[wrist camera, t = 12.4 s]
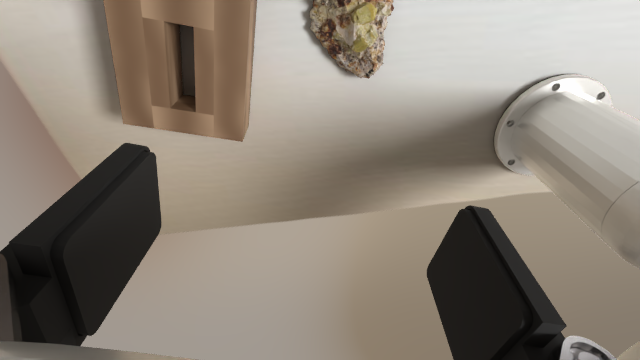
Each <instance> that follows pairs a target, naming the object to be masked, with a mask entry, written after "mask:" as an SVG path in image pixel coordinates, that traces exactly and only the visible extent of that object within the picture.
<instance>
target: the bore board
mask: <svg viewBox="0 0 640 360" xmlns="http://www.w3.org/2000/svg"><path fill="white" fill-rule="evenodd" d="M103 2H104V8H105V14H106V20H107V26H108V32H109V38H110V45H111V51H112V57H113V63H114V69H115V75H116V82H117V88H118V94H119V100H120V106H121V112H122V118H123V124H129V125H135V126H142V127H149V128H155V129H162V130H169V131H175V132H182V133H188V134H195V135H202V136H208V137H215V138H222V139H228V140H235V141H241V142H242V141H243V139H244V136H245V134H246V131H247V128H248V125H249V110H250V96H251V81H252V66H253V52H254V37H255V22H256V8H257V0H103ZM180 24H181V25H186V26H192V27H193V29H194V64H195V97H194V96H188V95H183V82H182V62H181V42H180Z"/></svg>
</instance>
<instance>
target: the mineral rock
mask: <svg viewBox="0 0 640 360" xmlns="http://www.w3.org/2000/svg"><path fill="white" fill-rule="evenodd" d="M392 3H393V0H313V7H312V9H311V11H310V18H311V26H310V30H311V31H313V32H314V34H315V35H316V37H317V39H319V40H320V42H321V44H322V46H323V47H325V49H327V50H328V54H330V55H331V57H332V58H333V59H336V60H337V64H338V66H340V67H341V68H344V69H345V70H346V71H350V72H352V73H354V74H355V75H357V76H358V77H359V78H362V77H363V78H370V76H371V75H373V74H374V73H375V72H376V71H377V70H378V69H379V67H380V66H381V65H382V64H383V63H382V61H383V53H382V52H383V50H384V46H385V42H384V40H383V39H384V37H383V34H384V30H385V29H386V26H387V23H388V22H387V16H390V15H391V12H392V11H393V9H394V7H393V5H392Z"/></svg>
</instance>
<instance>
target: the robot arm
mask: <svg viewBox="0 0 640 360" xmlns="http://www.w3.org/2000/svg"><path fill="white" fill-rule="evenodd" d="M494 147H495V151H496V154H497V156H498V158H499V159H500V161H501V162H502V163H503V164H504V165H505V166H506V167H507V168H508V169H510V170H511V171H513V172H515V173H518V174H521V175H528V176H536V177H537V178H538V179H539V180H540V181H541V182H542V183H543V184H544V185H545V186H546V187H547V188H548V189H549V190H550V191H552V192H553V193H554V194H555V195H556V196H557V197H558V198H559V199H560V200H561V201H562V202H563V203H564V204H565V205H566V206H567V207H568V208H569V209H570V210H571V211H572V212H573V213H574V214H575V215H576V216H578V217H579V218H580V219H581V220H582V221H583V222H584V223H585V224H586V225H587V226H588V227H589V228H590V229H591V230H592V231H593V232H594V233H595V234H596V235H597V236H598V237H599V238H600V239H602V240H603V241H604V242H605V243H606V244H607V245H608V246H609V247H610V248H611V249H612V250H613V251H614V252H615V253H616V254H618V255H619V256H620V257H621V258H622V259H624V260H625V261H627V262H628V263H630V264H631V265H633V266H635V267H637V268H639V269H640V120H639V119H637V118H634V117H632V116H630V115H628V114H626V113H624V112H622V111H620V110H618V109H616V108H614V107H613V106H612V98H611V96H610V93H609V91H608V90H607V89H606V87H605V86H604V85H603V84H601V83H600V82H598V81H597V80H595V79H592V78H590V77H587V76H583V75H578V74H565V75H560V76H555V77H552V78H549V79H547V80H544V81H541V82H540V83H538V84H536V85H534V86H532V87H531V88H529V89H528V90H526V91H525V92H524V93H522V94H521V95H520V96H519V97H518V98H517V99H516V100H514V101H513V102H512V103H511V105H510V106H509V107H508V108H507V110H506V111H505V112H504V114H503V116H502V117H501V119H500V121H499V123H498V126H497V128H496V131H495V137H494ZM160 229H161V212H160V200H159V189H158V177H157V165H156V156H155V154H154V153H152V152H150V150H149V148H148V147H147V146H141V145H136V144H130V143H124V144H123V145H121V146H120V147H119V148H118V149H117V150H116V151H114V152H113V153H112V154H111V155H110V156H109V157H107V158H106V159H105V160H104V161H103V162H102V163H100V164H99V165H98V166H97V167H96V168H95V169H93V170H92V171H91V172H90V173H89V174H88V175H86V176H85V177H84V178H83V179H82V180H81V181H80V182H79V183H77V184H76V185H75V186H74V187H73V188H71V189H70V190H69V191H68V192H67V193H66V194H64V195H63V196H62V197H61V198H60V199H59V200H57V202H55V203H54V204H53V205H52V206H50V207H49V208H48V209H47V210H46V211H45V212H44V213H42V214H41V215H40V216H39V217H38V218H37V219H35V220H34V221H33V222H32V223H31V224H30V225H28V227H26V228H25V229H24V230H23V231H21V232H20V233H19V234H18V235H17V236H16V237H15V238H13V239H12V240H11V241H10V242H9V244H8V245H7V246H6V247H5V248H4V249H3V250H1V251H0V360H196V359H188V358H180V357H172V356H163V355H155V354H147V353H138V352H129V351H119V350H110V349H100V348H91V347H81V344H82V342H83V341H84V340H85V338H86V336H87V335H89V336H91V335H93V334H94V333H96V331H97V330H98V328H99V327H100V325H101V324H102V322H103V321H104V319H105V317H106V316H107V314H108V313H109V311H110V310H111V308H112V306H113V305H114V303H115V302H116V300H117V299H118V297H119V295H120V294H121V292H122V291H123V289H124V288H125V286H126V284H127V283H128V281H129V280H130V278H131V277H132V275H133V273H134V272H135V270H136V268H137V267H138V266H139V264H140V262H141V261H142V259H143V258H144V256H145V255H146V253H147V251H148V250H149V248H150V247H151V245H152V244H153V242H154V240H155V239H156V237H157V236H158V234H159V232H160ZM427 278H428V281H429V284H430V287H431V290H432V293H433V296H434V300H435V303H436V306H437V309H438V312H439V315H440V318H441V322H442V325H443V328H444V331H445V334H446V337H447V340H448V343H449V346H450V350H451V352H452V356H453V359H454V360H640V341H639V342H638V343H636V344H635V345H633V346H632V347H630V348H629V349H628V350H627V351H625V352H624V353H622V354H621V355H620V356H619V357H618V358H617V359H616V358H615V357H613V356H612V354H610V353H609V352H608V351H607V350H605V349H604V348H602V347H601V346H600V345H598V344H596V343H594V342H593V341H591V340H589V339H586V338H583V337H580V336H569V337H567V338H564V336H563V335H562V333H561V331H562V330H563V329H564V328H565V327H566V324H565V323H564V321H563V320H562V318H561V317H560V315H559V314H558V312H557V311H556V309H555V308H554V306H553V305H552V303H551V302H550V300H549V299H548V297H547V296H546V294H545V293H544V291H543V290H542V288H541V287H540V285H539V284H538V282H537V281H536V279H535V278H534V276H533V275H532V273H531V272H530V270H529V269H528V267H527V266H526V264H525V263H524V261H523V260H522V258H521V257H520V255H519V254H518V252H517V251H516V249H515V248H514V246H513V245H512V243H511V242H510V240H509V239H508V237H507V236H506V234H505V233H504V231H503V230H502V228H501V227H500V225H499V224H498V222H497V221H496V219H495V218H494V216H493V215H492V213H491V212H490V211H489V209H486V208H481V207H475V206H467V207H466V208H465V209H461V210H460V211H459V212H458V214H457V216H456V217H455V219H454V221H453V223H452V224H451V226H450V228H449V230H448V232H447V233H446V235H445V237H444V239H443V241H442V243H441V244H440V246H439V248H438V249H437V251H436V253H435V255H434V257H433V258H432V260H431V262H430V264H429V266H428V268H427Z"/></svg>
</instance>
